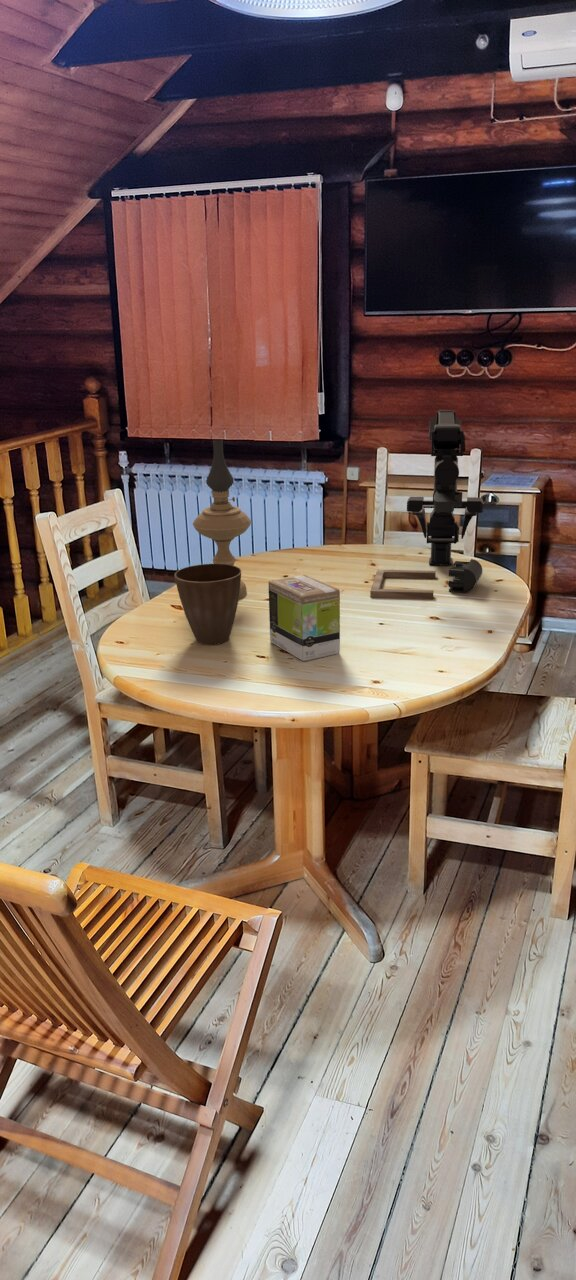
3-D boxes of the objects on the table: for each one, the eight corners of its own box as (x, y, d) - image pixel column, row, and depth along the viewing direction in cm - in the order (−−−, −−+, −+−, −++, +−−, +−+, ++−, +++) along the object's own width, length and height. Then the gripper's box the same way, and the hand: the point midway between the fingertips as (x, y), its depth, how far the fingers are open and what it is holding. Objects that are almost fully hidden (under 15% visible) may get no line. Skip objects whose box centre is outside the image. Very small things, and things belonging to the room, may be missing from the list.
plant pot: (172, 650, 210) (166, 581, 204) (187, 627, 223) (183, 562, 218) (237, 651, 208) (234, 582, 202) (249, 629, 221) (246, 563, 216)
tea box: (341, 653, 205) (341, 588, 200) (302, 663, 200) (300, 596, 195) (306, 634, 217) (305, 572, 212) (268, 642, 213) (266, 579, 208)
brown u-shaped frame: (377, 575, 260) (377, 569, 260) (435, 576, 258) (435, 570, 257) (370, 597, 242) (370, 591, 241) (433, 598, 239) (433, 592, 239)
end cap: (475, 595, 241) (476, 569, 239) (447, 592, 244) (448, 567, 242) (482, 584, 250) (483, 559, 248) (455, 582, 253) (456, 557, 250)
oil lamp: (264, 595, 245) (259, 440, 231) (214, 606, 238) (205, 447, 224) (236, 582, 257) (229, 434, 243) (187, 592, 250) (177, 440, 236)
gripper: (405, 482, 228) (404, 545, 234) (484, 483, 225) (481, 547, 230) (408, 474, 238) (407, 534, 244) (483, 474, 235) (481, 535, 241)
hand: (443, 538), depth 239 cm, fingers open, 9 cm apart
